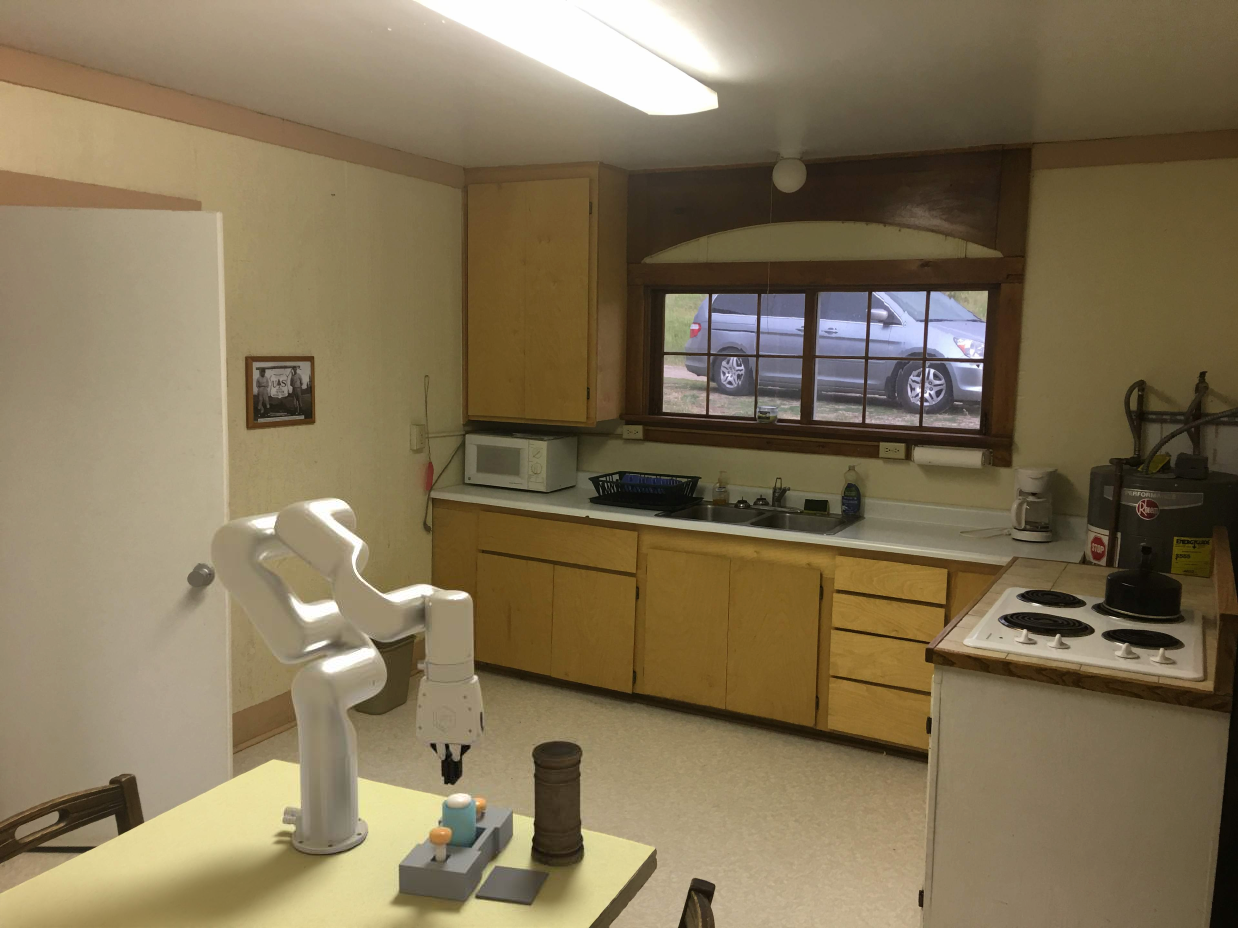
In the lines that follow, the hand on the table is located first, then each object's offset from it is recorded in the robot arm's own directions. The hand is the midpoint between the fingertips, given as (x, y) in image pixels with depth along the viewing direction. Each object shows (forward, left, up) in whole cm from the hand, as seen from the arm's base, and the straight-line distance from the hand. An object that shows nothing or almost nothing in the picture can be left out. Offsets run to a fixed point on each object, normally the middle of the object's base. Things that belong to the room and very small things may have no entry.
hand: (452, 780), depth 150 cm
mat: (+11, -2, -15) cm, 19 cm away
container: (+15, +10, -16) cm, 24 cm away
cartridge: (0, +3, -15) cm, 16 cm away
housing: (0, +3, -15) cm, 16 cm away
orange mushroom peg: (0, +11, -15) cm, 18 cm away
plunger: (0, -4, -13) cm, 13 cm away
